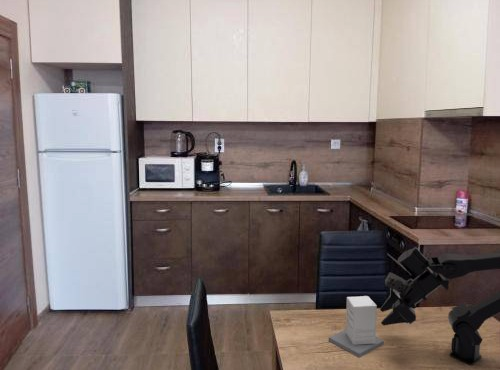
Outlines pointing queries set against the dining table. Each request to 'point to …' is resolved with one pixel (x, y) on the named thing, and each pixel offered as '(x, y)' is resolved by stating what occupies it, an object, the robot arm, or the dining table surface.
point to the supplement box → (361, 320)
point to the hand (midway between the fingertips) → (381, 317)
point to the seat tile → (358, 350)
